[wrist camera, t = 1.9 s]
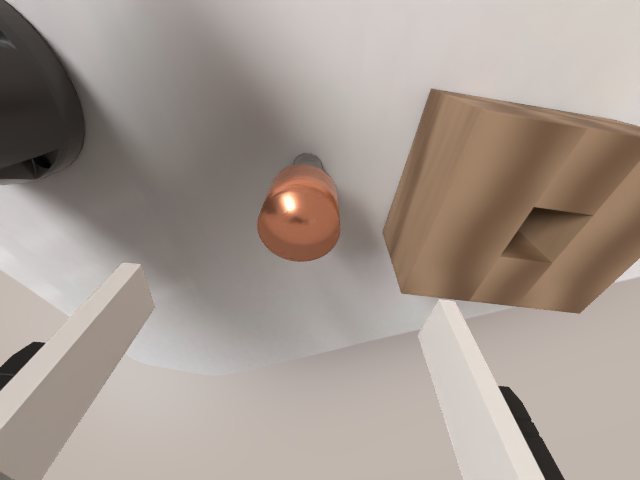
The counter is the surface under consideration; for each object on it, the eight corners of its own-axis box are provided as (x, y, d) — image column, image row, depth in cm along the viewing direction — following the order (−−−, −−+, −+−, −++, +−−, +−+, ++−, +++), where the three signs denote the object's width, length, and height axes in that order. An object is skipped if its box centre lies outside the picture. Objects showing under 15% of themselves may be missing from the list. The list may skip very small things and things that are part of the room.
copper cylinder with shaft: (278, 189, 27) (257, 256, 18) (281, 136, 24) (257, 186, 15) (330, 196, 27) (332, 265, 19) (339, 144, 24) (347, 198, 16)
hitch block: (382, 232, 30) (401, 293, 22) (431, 88, 22) (485, 111, 14) (519, 249, 31) (579, 313, 24) (614, 120, 23) (750, 155, 15)
